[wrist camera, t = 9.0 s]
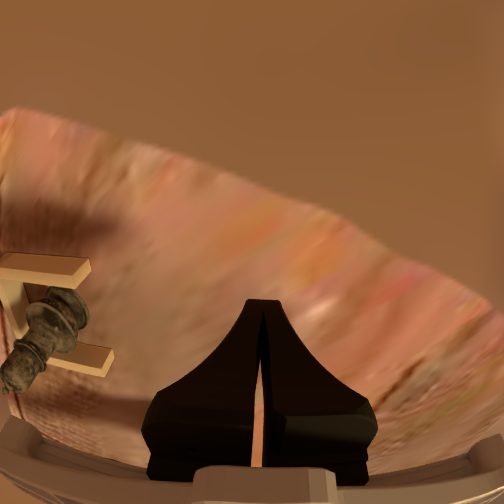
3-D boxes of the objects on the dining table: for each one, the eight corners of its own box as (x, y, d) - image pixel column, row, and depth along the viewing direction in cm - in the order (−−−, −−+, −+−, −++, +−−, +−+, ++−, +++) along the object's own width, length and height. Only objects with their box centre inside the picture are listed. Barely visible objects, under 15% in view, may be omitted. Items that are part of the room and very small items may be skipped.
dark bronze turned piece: (54, 327, 28) (-2, 408, 17) (37, 280, 25) (-35, 357, 15) (98, 334, 28) (45, 427, 17) (82, 283, 25) (10, 375, 14)
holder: (114, 357, 29) (104, 377, 26) (37, 340, 29) (25, 356, 26) (88, 258, 24) (71, 275, 21) (6, 252, 24) (-11, 265, 22)
